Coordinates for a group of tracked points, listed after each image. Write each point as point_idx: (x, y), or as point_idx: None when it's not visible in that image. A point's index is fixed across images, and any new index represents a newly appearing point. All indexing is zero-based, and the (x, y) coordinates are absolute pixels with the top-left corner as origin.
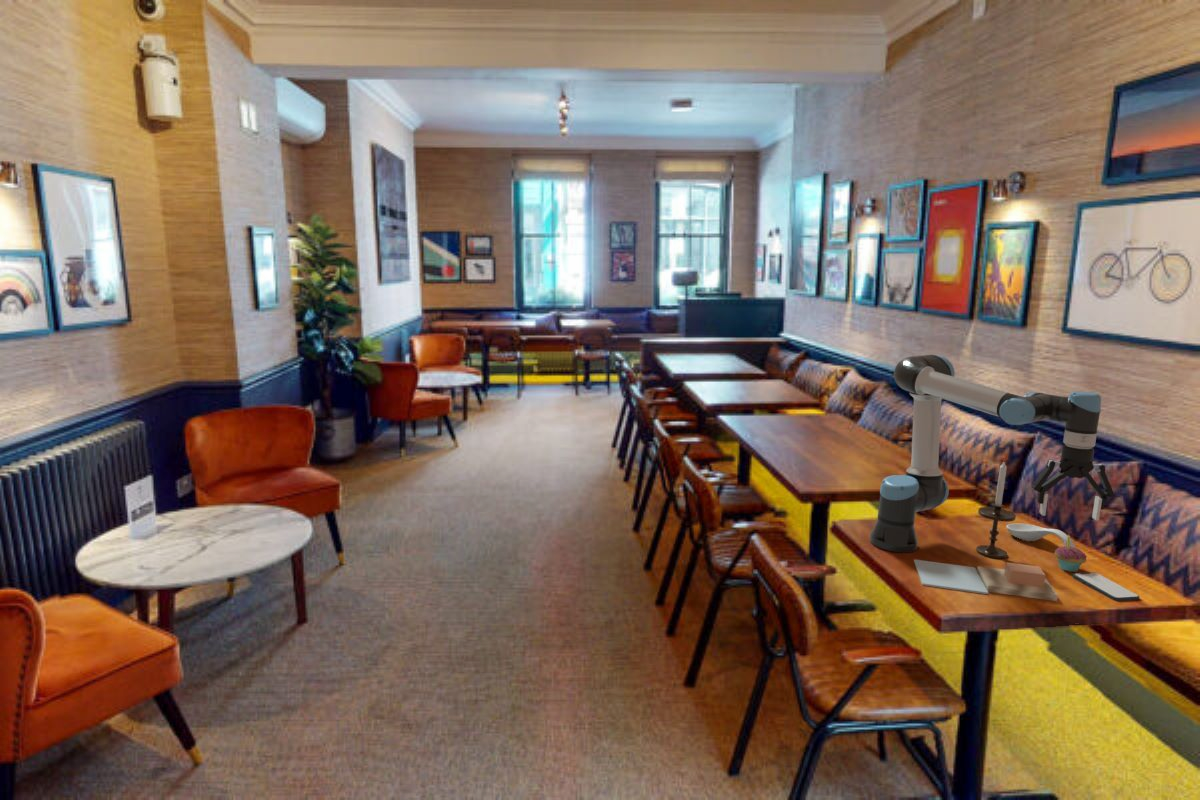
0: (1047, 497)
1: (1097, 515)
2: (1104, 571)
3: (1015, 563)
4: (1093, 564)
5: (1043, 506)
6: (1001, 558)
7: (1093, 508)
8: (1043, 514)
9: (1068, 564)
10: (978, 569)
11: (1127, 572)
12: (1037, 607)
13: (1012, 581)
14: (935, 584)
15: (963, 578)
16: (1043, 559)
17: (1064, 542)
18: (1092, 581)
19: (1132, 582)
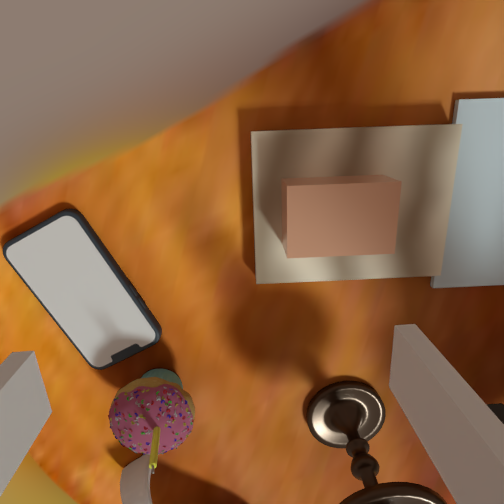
0: (500, 458)
1: (2, 380)
2: (69, 402)
3: (363, 254)
4: (89, 435)
5: (456, 375)
6: (327, 386)
7: (10, 476)
8: (411, 330)
9: (164, 378)
10: (440, 258)
11: None
12: (325, 53)
13: (376, 175)
14: None
15: (500, 188)
16: (213, 421)
17: (149, 497)
18: (116, 303)
19: None
